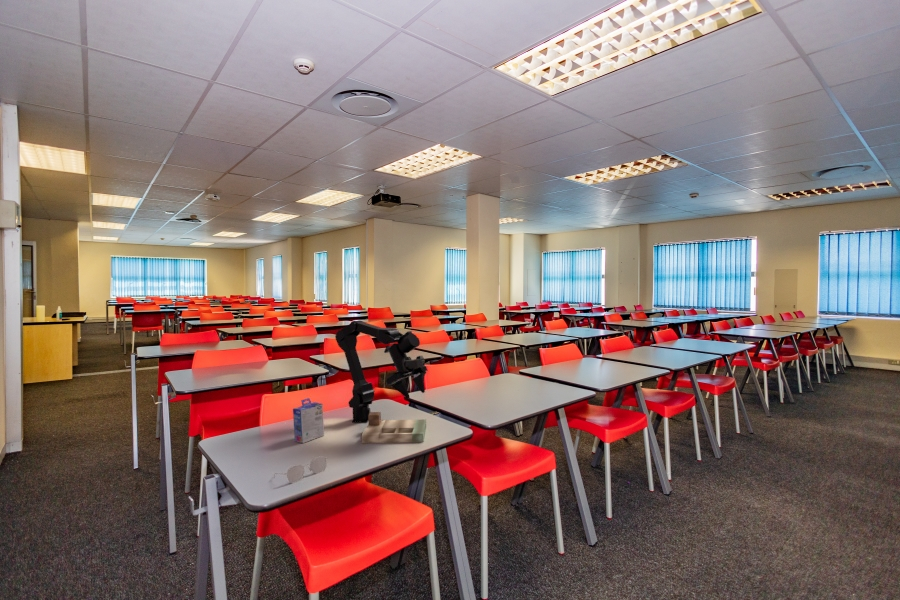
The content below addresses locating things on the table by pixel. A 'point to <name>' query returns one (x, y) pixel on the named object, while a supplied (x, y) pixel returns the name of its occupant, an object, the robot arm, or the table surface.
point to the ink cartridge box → (308, 421)
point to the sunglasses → (298, 470)
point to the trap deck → (395, 431)
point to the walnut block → (374, 418)
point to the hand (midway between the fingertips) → (416, 395)
